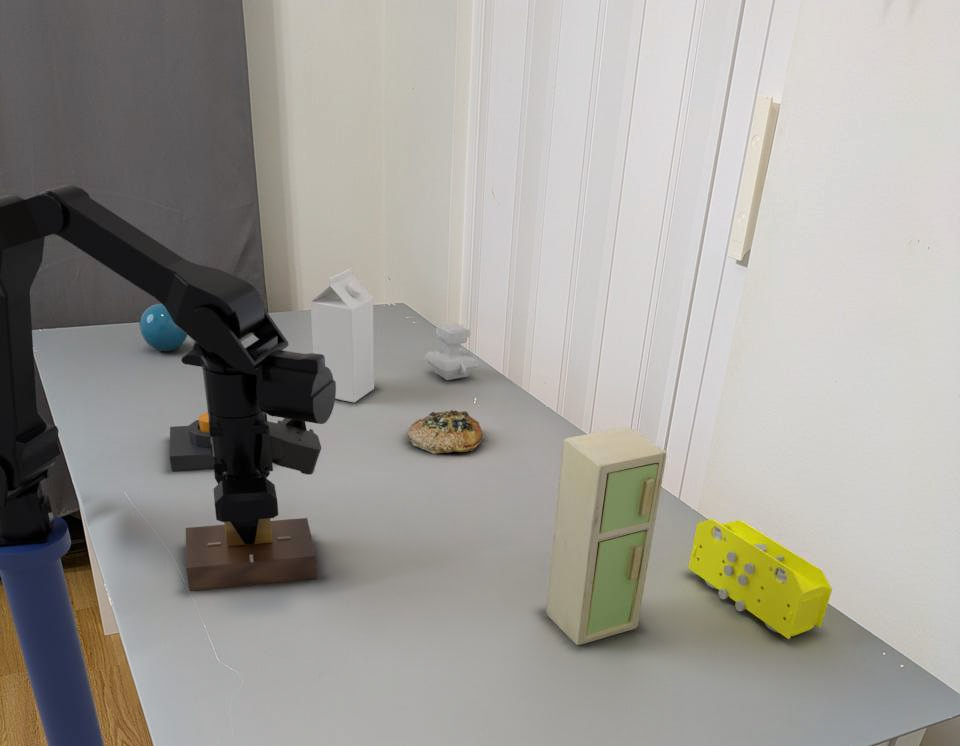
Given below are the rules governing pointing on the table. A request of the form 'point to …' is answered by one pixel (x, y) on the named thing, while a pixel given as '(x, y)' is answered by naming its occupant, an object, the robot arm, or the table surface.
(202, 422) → the bell button
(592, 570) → the toy refrigerator
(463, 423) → the bread roll
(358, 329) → the milk carton
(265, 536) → the thumbturn
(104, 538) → the table surface
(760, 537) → the yellow toy chassis
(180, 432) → the block
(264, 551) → the plate
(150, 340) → the ball
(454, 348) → the stamp
